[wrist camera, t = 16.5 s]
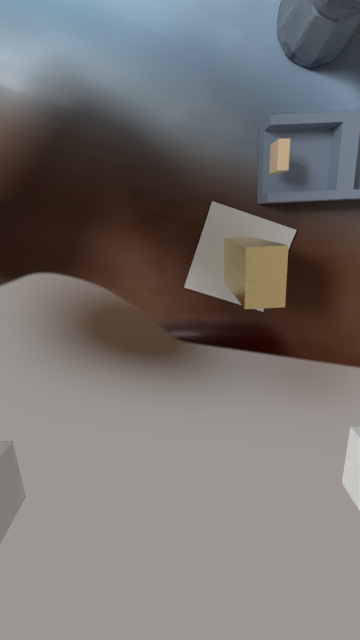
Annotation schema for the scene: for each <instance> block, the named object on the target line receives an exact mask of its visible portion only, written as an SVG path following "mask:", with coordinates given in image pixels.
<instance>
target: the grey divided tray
mask: <svg viewBox="0 0 360 640" xmlns="http://www.w3.org/2000/svg"><path fill="white" fill-rule="evenodd" d="M338 200H360V111H338V112H315V113H292V114H271V115H270V116H269V117H268V118H267V119H266V120H265V121H264V122H263V123H262V125H261V126H260V127H259V155H258V188H257V204H269V203H292V202H315V201H338Z"/></svg>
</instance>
